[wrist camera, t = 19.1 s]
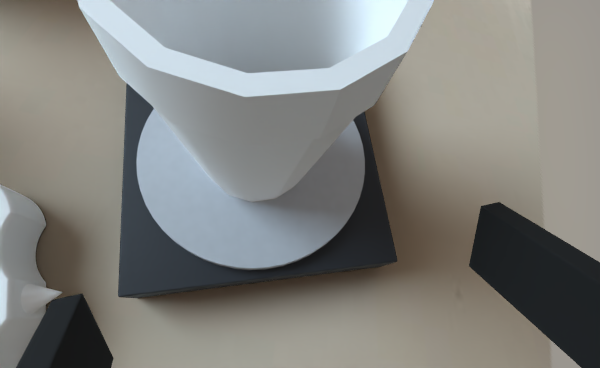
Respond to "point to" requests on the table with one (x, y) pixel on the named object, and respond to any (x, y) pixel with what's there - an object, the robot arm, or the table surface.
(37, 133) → the table surface
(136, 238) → the kitchen scale
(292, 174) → the foam cup
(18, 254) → the white brass knuckles
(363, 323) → the table surface
